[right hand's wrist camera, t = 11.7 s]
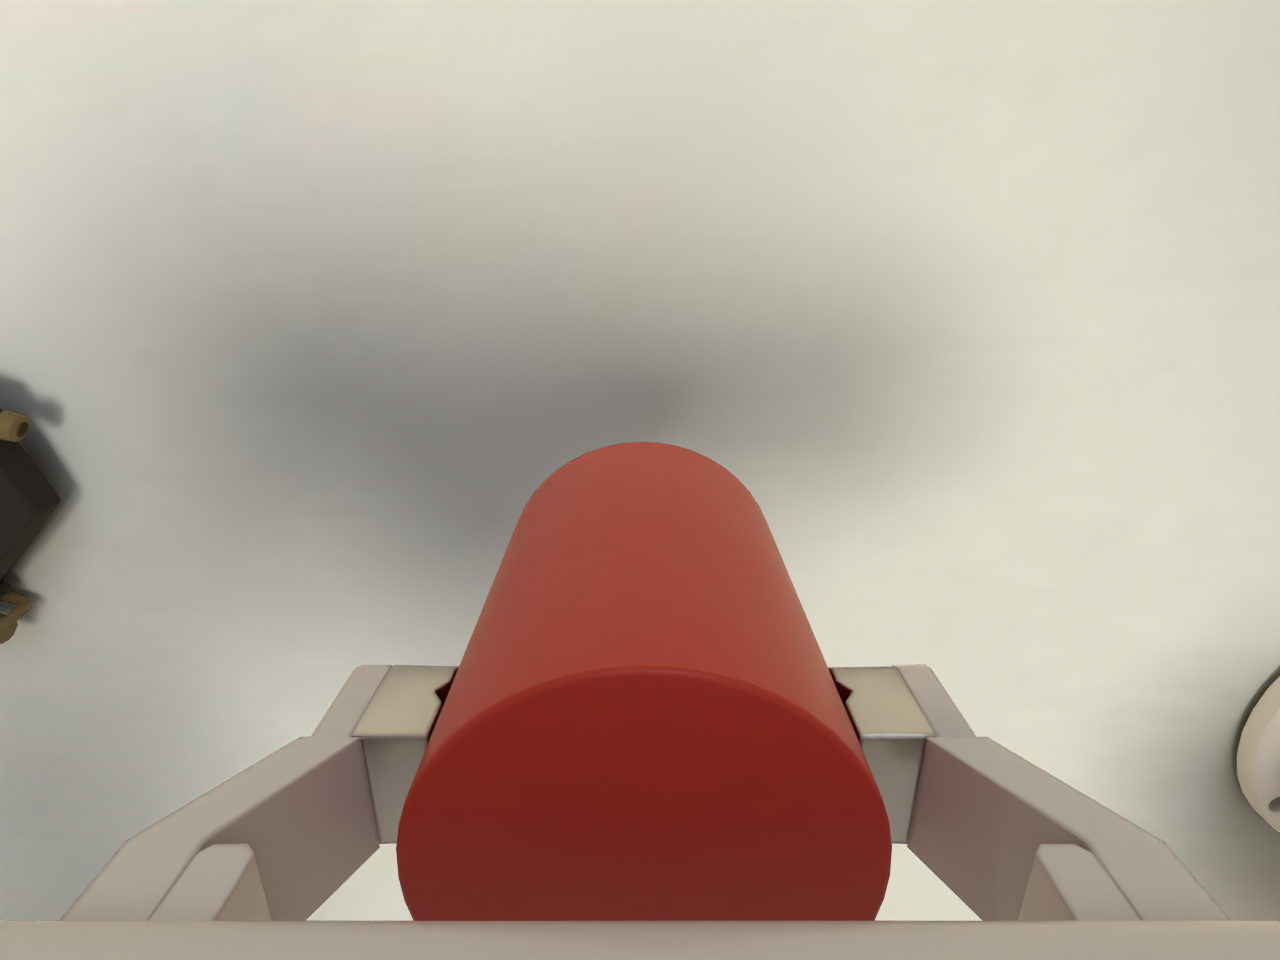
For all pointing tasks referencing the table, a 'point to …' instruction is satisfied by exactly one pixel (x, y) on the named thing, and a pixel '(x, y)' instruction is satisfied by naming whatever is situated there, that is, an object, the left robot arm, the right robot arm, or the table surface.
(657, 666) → the canister
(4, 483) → the spray gun
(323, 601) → the table surface
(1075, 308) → the table surface
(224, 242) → the table surface
